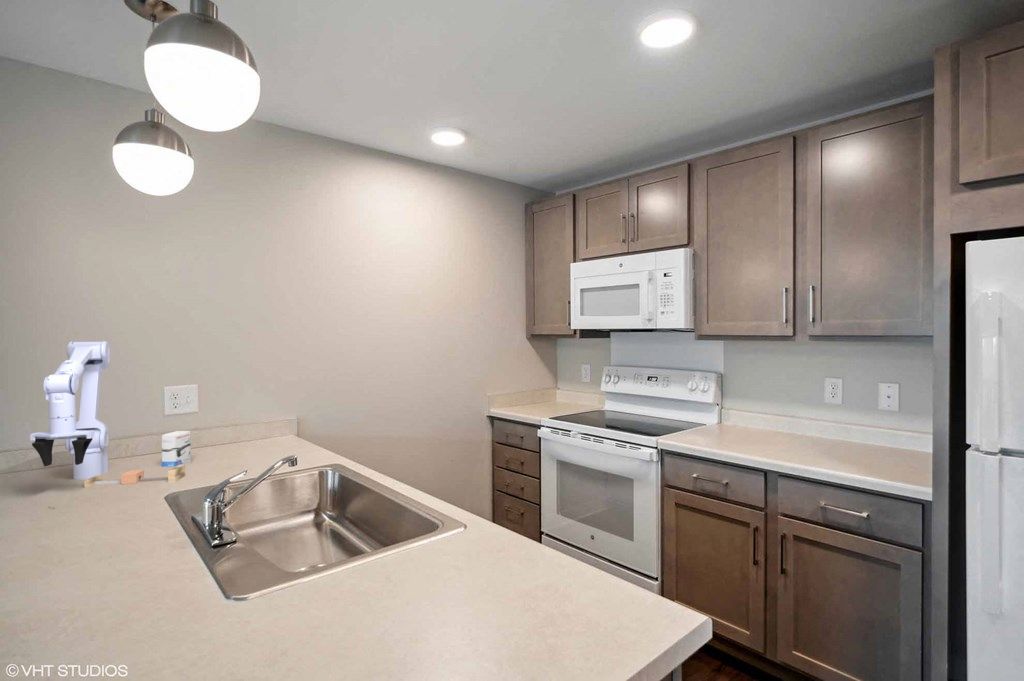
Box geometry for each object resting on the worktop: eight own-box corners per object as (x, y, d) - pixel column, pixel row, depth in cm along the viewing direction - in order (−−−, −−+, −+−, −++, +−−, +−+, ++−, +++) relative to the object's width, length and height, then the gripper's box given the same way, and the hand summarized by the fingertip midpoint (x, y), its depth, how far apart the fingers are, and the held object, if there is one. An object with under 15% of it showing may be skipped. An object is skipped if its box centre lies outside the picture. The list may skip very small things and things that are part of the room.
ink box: (175, 469, 173) (175, 435, 173) (161, 469, 173) (160, 435, 173) (191, 463, 181) (191, 430, 181) (177, 463, 182) (177, 430, 181)
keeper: (129, 479, 158) (129, 470, 158) (144, 478, 159) (143, 469, 159) (121, 484, 153) (121, 474, 153) (136, 483, 154) (136, 473, 154)
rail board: (98, 484, 157) (97, 469, 157) (184, 479, 162) (184, 465, 162) (84, 491, 150) (84, 476, 150) (175, 485, 155) (175, 471, 155)
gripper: (21, 420, 138) (22, 470, 138) (83, 418, 140) (84, 467, 141) (39, 415, 144) (41, 463, 145) (98, 413, 147) (99, 460, 148)
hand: (63, 464), depth 143 cm, fingers open, 7 cm apart
